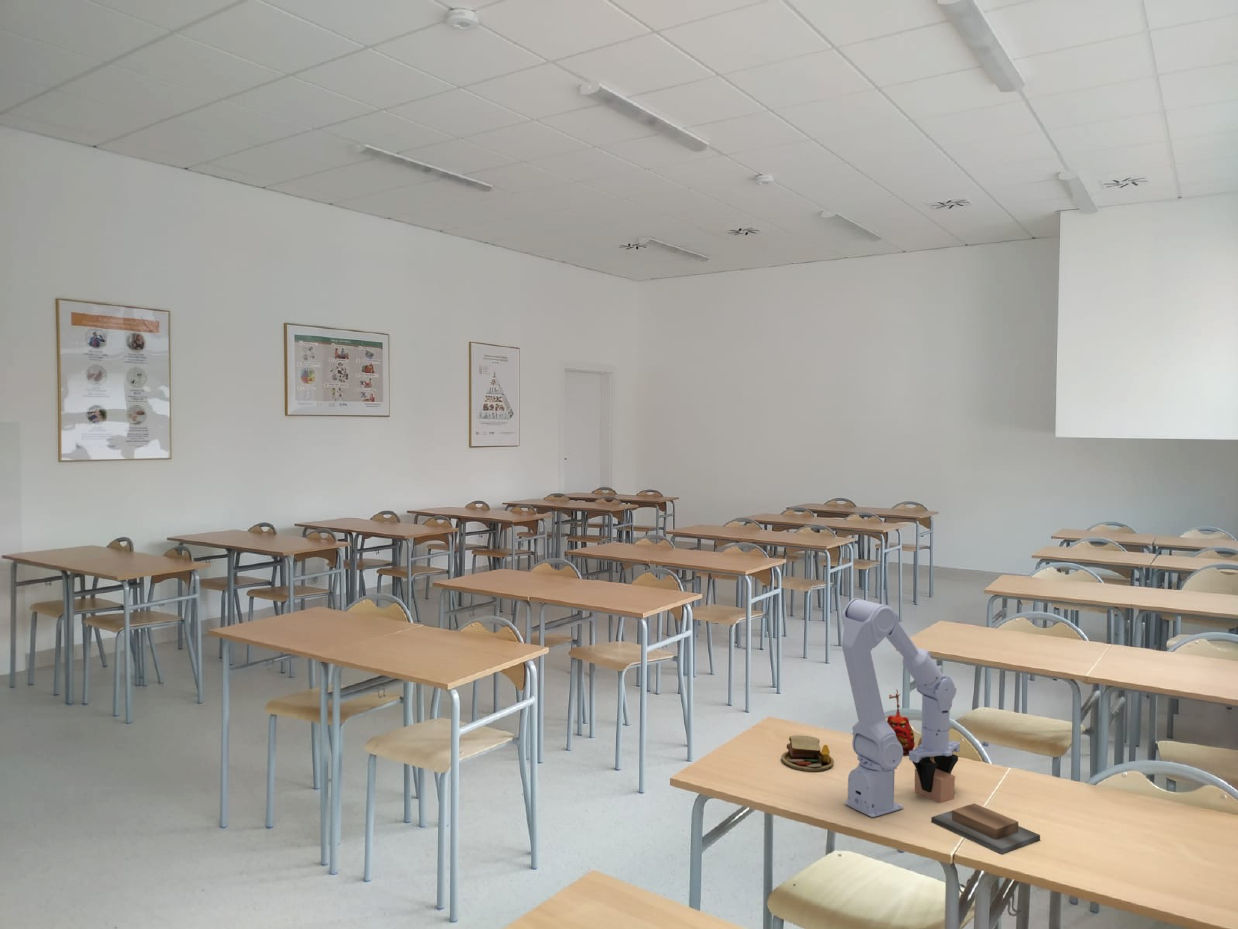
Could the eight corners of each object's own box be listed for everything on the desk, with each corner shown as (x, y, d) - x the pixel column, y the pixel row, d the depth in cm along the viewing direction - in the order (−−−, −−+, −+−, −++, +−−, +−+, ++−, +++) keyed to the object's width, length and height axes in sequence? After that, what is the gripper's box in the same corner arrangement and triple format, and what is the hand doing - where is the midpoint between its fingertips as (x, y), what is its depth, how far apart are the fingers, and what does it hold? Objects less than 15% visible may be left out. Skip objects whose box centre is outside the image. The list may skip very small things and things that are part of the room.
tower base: (1001, 854, 160) (1001, 838, 160) (931, 822, 174) (931, 807, 174) (1040, 840, 166) (1040, 825, 166) (969, 810, 180) (969, 795, 180)
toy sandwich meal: (779, 770, 202) (779, 750, 202) (783, 751, 215) (783, 732, 215) (833, 776, 199) (834, 755, 198) (834, 756, 212) (834, 737, 212)
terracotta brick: (940, 802, 183) (941, 779, 183) (914, 791, 189) (914, 769, 189) (954, 798, 186) (954, 776, 186) (927, 787, 192) (928, 765, 192)
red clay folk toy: (883, 754, 212) (884, 695, 212) (881, 745, 219) (882, 687, 219) (915, 757, 211) (916, 697, 210) (912, 748, 218) (913, 689, 217)
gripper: (928, 738, 180) (927, 801, 180) (972, 727, 188) (971, 788, 188) (901, 728, 186) (900, 790, 186) (945, 718, 194) (944, 777, 194)
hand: (934, 788), depth 188 cm, fingers closed on terracotta brick, 4 cm apart
